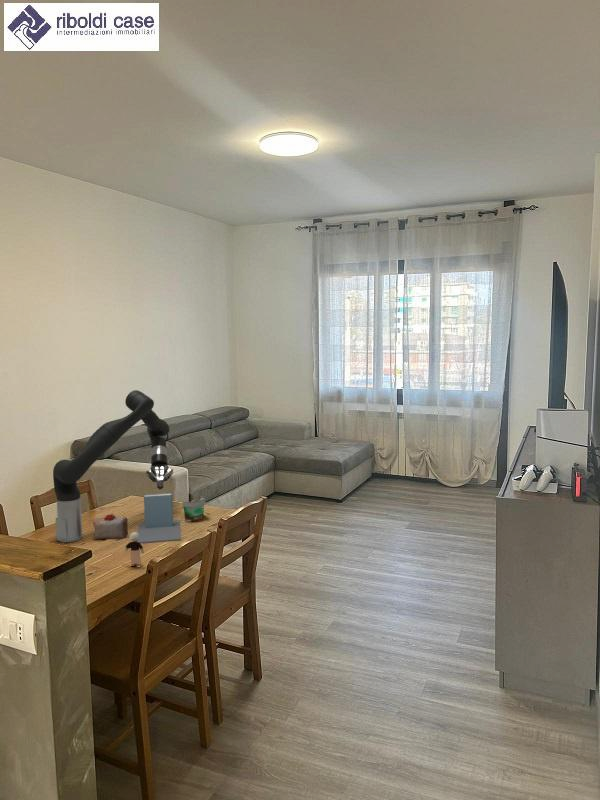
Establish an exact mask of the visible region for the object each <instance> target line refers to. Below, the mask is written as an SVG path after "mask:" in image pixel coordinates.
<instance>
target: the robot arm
mask: <svg viewBox="0 0 600 800" xmlns="http://www.w3.org/2000/svg"><path fill="white" fill-rule="evenodd" d="M154 405H155V402H154V399H153V398H151V397H150V396H148V395H147V394H145V393H144V392H142V391H140V390H137V389H135V390H131V391H130V392H129V393H128V394H127V395H126V398H125V406H126V407H127V408H128V409H129V410H130V411H131V412H130V413H129V414H128V415H126V416H124V417H121V418H118V419H117V418H116V419H115V420H111V421H108V422H105V423H103V424H102V425H101V426H99V427H98V428H97V429H96V430H95V431H94V432H93V433H92V434H91V436H90V437H89V439H88V441H87V442H86V443H85V444H86V445H85V446H84V448H83V449H82V450H81V452H79V453H78V454H77V455H76V456H75V457H73V458H71V460H70V459H60V460H58V462H56V464H55V465H54V467H53V469H52V477H53V480H52V481H53V487H54V488H53V489H54V493H55V497H56V509H57V510H56V511H57V513H56V514H57V517H55V530H56V531H55V532H56V541H57V540H58V542H60V543H61V542H62V541H63V542H62V543H64V542H65V543H64V544H67V543H72V542H77V541H79V540H81V539H83V521H82V520H83V519H82V504H81V502H82V501H81V491H80V489H79V488H78V487H79V486H78V485H77V482H78V481H79V480H80V479H81V478H82V477H83V476H84V475H85V474H86V472H87V471H88V470H89V469H90V468H91V466H92V465H93V464H95V462H96V461H97V460H99V459H100V457H102V456H103V455H104V454H105V453H106V452H107V451H108V450H109V449H110V448H112V446H114V445H115V444H116V443H117V442H118V441H119V440H120V438H122V437H123V436H124V435H125V434H126V433H127V432H128V431H129V430H130V429H132V428H133V426H135V425H136V424H138V423H139V422H140V421H142V423H144V425H145V427H147V428H146V429H147V430H146V431H147V435H148V437H149V439H150V445H151V447H150V449H151V450H150V451H151V452H150V464H151V465H150V468H149V469H150V470H147V471H145V474H146V476H147V477H148V479H150V480H151V481H152V483H156V487H157V489H158V490H163V489H164V482H167V481H168V480H169V479H170V478H171V477H172V476H173V474H174V469H172V468H171V469H170V467H169V465H168V452H167V440H166V438H164V437H165V436H168V434H169V433H170V425H169V424H168V423H167V422H166V421H165V420H163V419H161V418H160V417H159V416H158V414H156V412H155V411H154V410H153V408H154ZM66 542H67V543H66Z"/></svg>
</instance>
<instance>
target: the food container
mask: <svg viewBox="0 0 600 800" xmlns="http://www.w3.org/2000/svg"><path fill="white" fill-rule="evenodd" d="M205 504H206V499H205V497H204V496H203V495H202V496H201V495H200V496H199V498H197V499H191V500H190V501H182V507H183V515H184V521H185V522H187V523H195V522H196V523H197V522H201V521H202V520H204V514H205Z"/></svg>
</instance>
